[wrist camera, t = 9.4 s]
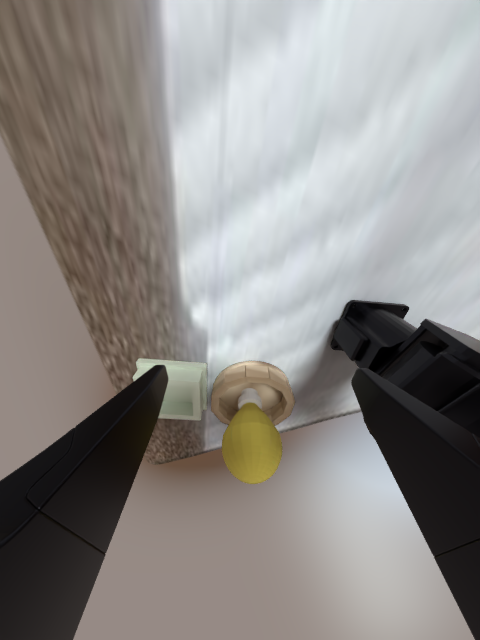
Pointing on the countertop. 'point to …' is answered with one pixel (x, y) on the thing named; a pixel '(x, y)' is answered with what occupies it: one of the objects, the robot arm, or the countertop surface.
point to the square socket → (180, 388)
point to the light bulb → (251, 441)
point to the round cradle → (255, 376)
